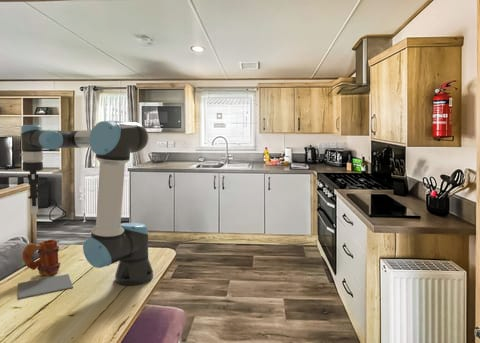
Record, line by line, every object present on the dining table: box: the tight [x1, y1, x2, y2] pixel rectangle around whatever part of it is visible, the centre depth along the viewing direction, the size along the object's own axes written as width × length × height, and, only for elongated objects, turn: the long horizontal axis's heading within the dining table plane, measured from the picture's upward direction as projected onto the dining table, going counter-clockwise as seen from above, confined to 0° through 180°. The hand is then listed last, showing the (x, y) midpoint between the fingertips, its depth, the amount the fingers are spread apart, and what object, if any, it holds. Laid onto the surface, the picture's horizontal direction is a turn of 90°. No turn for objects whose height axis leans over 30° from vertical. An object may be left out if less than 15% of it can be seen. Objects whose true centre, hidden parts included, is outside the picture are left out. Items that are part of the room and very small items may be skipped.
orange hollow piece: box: [22, 239, 61, 277], centre depth 148 cm, size 15×8×15 cm, turn 144°
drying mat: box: [17, 273, 74, 300], centre depth 138 cm, size 15×18×1 cm
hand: (34, 210), depth 153 cm, fingers open, 13 cm apart
